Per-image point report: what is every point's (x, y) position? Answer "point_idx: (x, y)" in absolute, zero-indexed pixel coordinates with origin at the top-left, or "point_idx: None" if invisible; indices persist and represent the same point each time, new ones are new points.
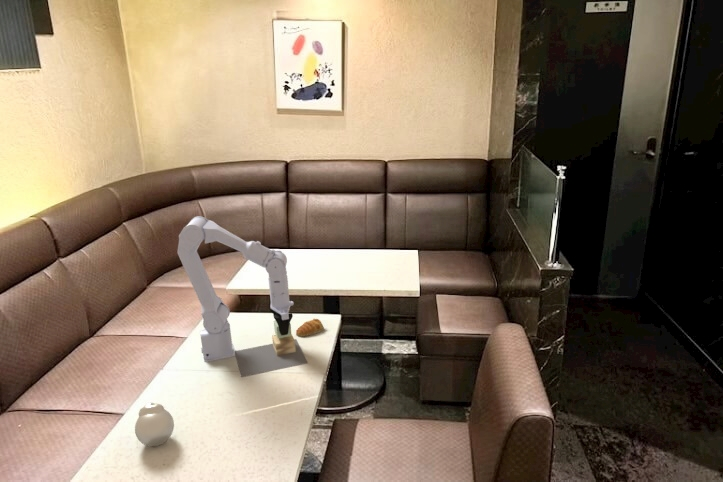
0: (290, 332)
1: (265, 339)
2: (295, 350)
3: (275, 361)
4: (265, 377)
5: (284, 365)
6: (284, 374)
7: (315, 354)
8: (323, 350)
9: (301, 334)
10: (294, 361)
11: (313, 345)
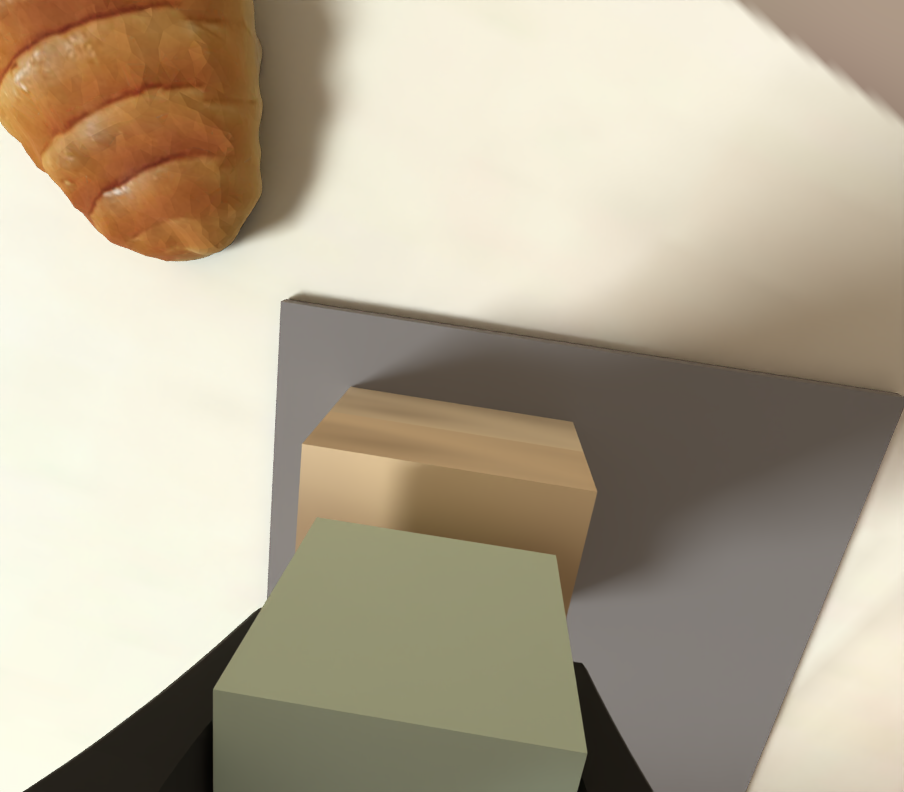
0: (560, 612)
1: (133, 569)
2: (575, 430)
3: (632, 655)
4: (808, 785)
5: (766, 618)
6: (888, 655)
7: (752, 224)
8: (730, 78)
9: (242, 217)
10: (763, 510)
11: (523, 152)
